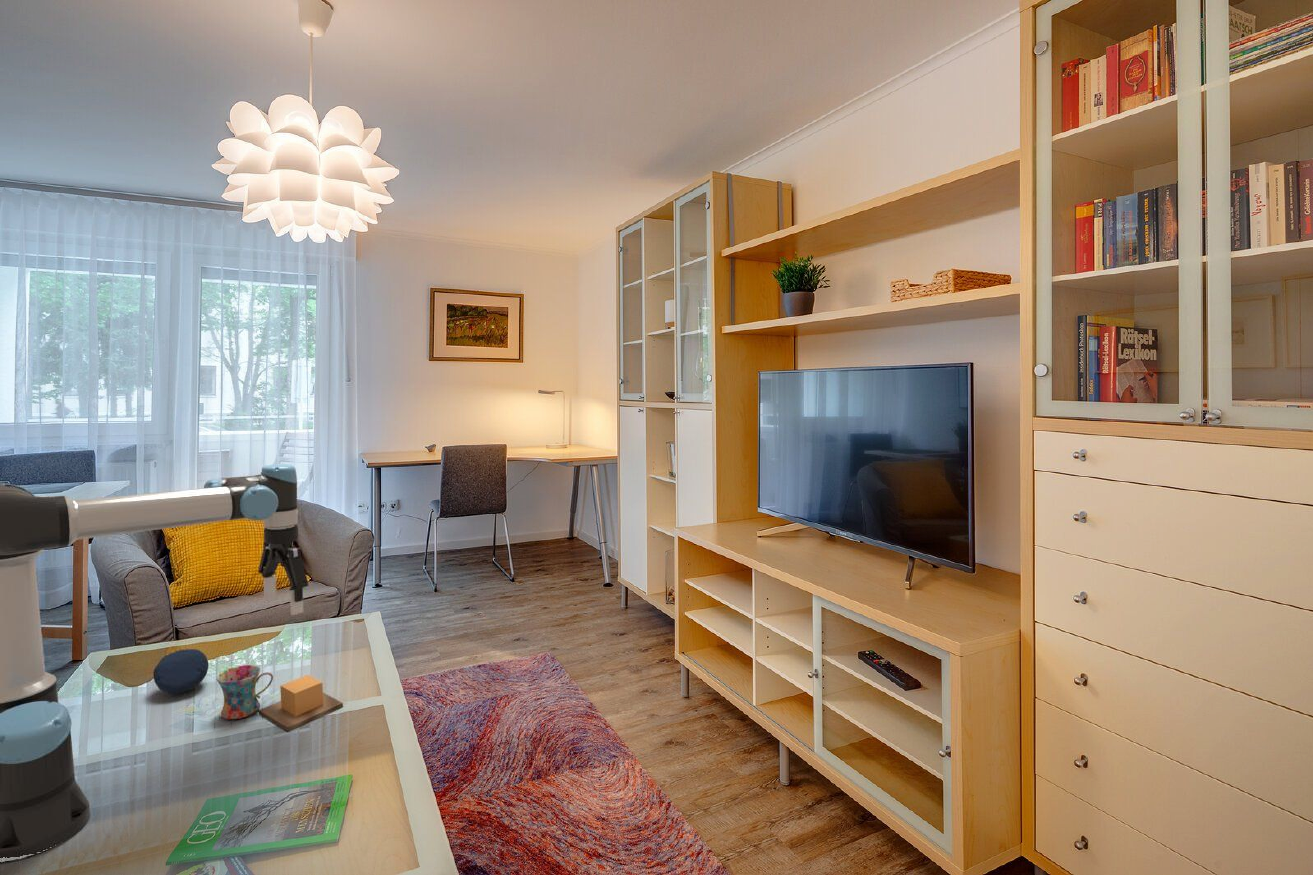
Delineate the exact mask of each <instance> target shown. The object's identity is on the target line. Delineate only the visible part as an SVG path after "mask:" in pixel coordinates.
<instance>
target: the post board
mask: <svg viewBox="0 0 1313 875" xmlns="http://www.w3.org/2000/svg"><path fill="white" fill-rule="evenodd" d="M343 707H344V703H343V702H342V701H340V700H338V699H336V698H334V697H333V696H331V695H328V694H327V693H325V692H323V705H320V706H318V707H316V708H314V709H311V710H309V711H307V712H304V713H302V714H300V715H298V716H294V715H293V714H291V713H289V712H288V711H286V710H284V709H283V708H281V700H279V701H277V702H275V703H272V704H271V705H270V704H269V705H267V706H265V707H262V708H259V709H258V714H259V715H260V716H262V717H264V718H265V719H266V720H269V721H271V723H274V724H275V725H277V726H278V727H280V728H281V729H283V730H285V731H286V732H290V731H292V730H294V729H297V728H298V727H302V726H303V725H305V724H308V723H309V722H313V721H315V720H316V719H319V718H321V717H323V716H325V715H327V714H330V713H332V712H334V711H336V710H339V709H340V708H343Z"/></svg>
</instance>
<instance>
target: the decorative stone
mask: <svg viewBox="0 0 1313 875" xmlns="http://www.w3.org/2000/svg"><path fill="white" fill-rule="evenodd" d="M208 671H209V661H208V658H207V656H206V655H205V653H204V652H202V651H201V650H199V649H196V648H194V649H193V648H191V649H190V648H186V649H180V650H179V649H178V650H176V651H174V652H171V653H169V654H167V655H165V656H163V657H162V658H161V659H160V660H159V662H158V663H157V665H156V666H155V668H154V669H153V680H154V684H155V686H157V688H158V689H159V690H160V691H162V692H163V693H166V694H168V695H180V694H183V693H187V692H189V691H191V690H194V689H195V688H196V687H197V686H199V685H200V684H201V683H202V682H203V680H204V679H205V677H206V676H207V673H208Z"/></svg>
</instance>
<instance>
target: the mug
mask: <svg viewBox="0 0 1313 875" xmlns="http://www.w3.org/2000/svg"><path fill="white" fill-rule="evenodd" d="M260 672H261V667H259V666H258V665H254V664H245V665H243V664H242V665H239V666H233V667H231V668H227V669H226V670H225V669H224V670H223V671H222V672H220V673H219V674H218V675H217V676H216V681H217V683H218V684H219V686H220V688H221V690H222V695H223V706H222V709H221V711H220V716H221V718H223V719H226V720H239V719H243V718H245V717H248V716H251V715H252V714H254V713H255V712H257V711H259V710H260V707H261V702H260V701H259V700H258V699H260V698H261V696H260V695H261V694H263V693H264V692H265V691H266V690H267V689H268V688H269V686H271V683H272V682H273V681H274V676H273V673H271V672H262V673H261V674H260ZM259 674H260V675H259ZM265 675H269V676H270V681H269V682H268V684H267V685H266V686H265V687H264V688H263V689H262V690H260V691H259V692H257V693H256V688H257V687H256V684H258V683H259V680H260V678H261V677H263V676H265Z"/></svg>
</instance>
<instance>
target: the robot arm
mask: <svg viewBox="0 0 1313 875" xmlns="http://www.w3.org/2000/svg"><path fill="white" fill-rule="evenodd" d="M298 514H299V510H298V477H297V469H296V467H295V466H294V465H292V464H285V463H284V464H283V463H282V464H281V463H278V464H268V465H263V467H261V472H260V473H259V474H256V475H247V476H233V477H220V478H214V479H209V480H206V482H205V483H204V485H203V488H197V489H195V488H194V489H186V490H173V491H165V492H164V491H161V492H153V493H141V494H140V493H139V494H138V493H137V494H130V495H119V496H106V497H95V498H84V499H72V498H70V497H69V496H67V495H58V496H38V495H37V496H36V495H35V494H34V493H32V492H31V491H30V490H28V489H26V488H24V487H23V486H20V485H16V484H11V483H10V484H9V483H0V858H3V857H5V858H6V857H7V858H10V857H20V856H23V855H29V854H36V853H37V852H42V851H43V850H46V849H49V848H50V847H53V846H55V845H57V846H59V845H60V844H59V843H61V842H62V843H64V842H65V841H68V840H70V838H72V837H73V836H75V835H76V834H77V833H78V832H80V831H81V830H82V829H83V828H84V827H85V826H86V825H87V823H88V822H89V820H90V817H91V808H90V801H89V800H88V797H86V795H85V794H84V792H83V790H82V789H81V787H80V785H79V784H78V783H77V781H76V778H75V764H74V754H73V743H72V741H73V740H72V734H71V733H72V732H71V731H72V726H73V724H72V718H71V716H70V713H69V709H68V707H66V705H64V704H62V703H61V702H59V696H58V695H59V694H58V684H57V677H56V676H55V675H54V674H51V673H49V672H47V671H46V668H45V656H44V644H43V633H42V624H41V623H42V622H41V613H40V612H41V610H40V602H39V590H38V581H37V571H36V570H37V568H36V558H37V557H38V556H39V555H40V554H42V553H43V552H44V550H52V549H56V548H64V547H65V548H66V547H70V546H71V545H72V544H74V543H75V542H76V541H78V540H86V539H93V538H101V537H109V536H117V535H121V534H122V535H124V534H132V533H139V532H147V531H148V532H149V531H155V530H165V529H172V528H179V527H187V526H193V525H194V526H195V525H203V524H210V523H219V522H226V521H234V520H235V521H236V520H243V519H247V520H252V521H262V522H263V523H262V525H263V526H264V528H263V548H262V554H261V557H260V561H259V567H258V570H257V571H258V573H259V574H261V576H262V578H263V600H264V603H265V604H267V603H271V602H276V601H277V597H278V596H277V576H276V574H277V572H276V570H277V569H278V566H279V564H280V566H281V567H283V568H284V571H285V575H286V577H287V578H288V582H289V583H290V588H289V598H290V600H289V601H290V604H289V605H290V616H293V615H294V616H295V615H297V614H301V613H304V590H303V589H304V588H306V587H308V586H309V582H308V578H307V574H306V571H305V567H304V564H303V563H304V562H303V559H302V553H301V548H300V547H295V548H294V544H293V543H294V542H295V541H298V539H299V526H298V525H297V524H298V522H299V521H298ZM62 843H61V844H62ZM58 844H59V845H58ZM55 847H56V846H55ZM53 848H54V847H53ZM49 850H50V849H49ZM46 851H47V850H46ZM42 853H43V852H42ZM36 855H37V854H36Z"/></svg>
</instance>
